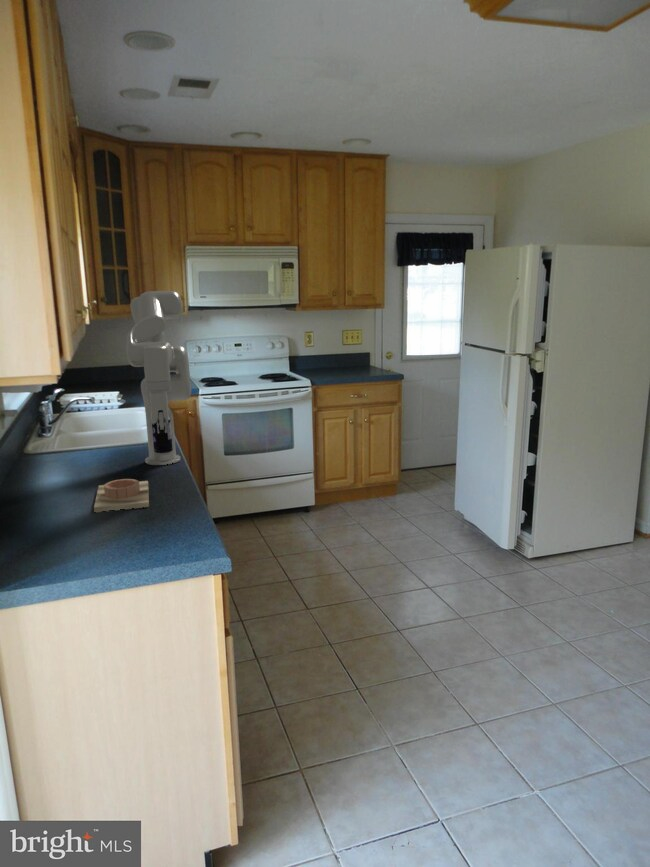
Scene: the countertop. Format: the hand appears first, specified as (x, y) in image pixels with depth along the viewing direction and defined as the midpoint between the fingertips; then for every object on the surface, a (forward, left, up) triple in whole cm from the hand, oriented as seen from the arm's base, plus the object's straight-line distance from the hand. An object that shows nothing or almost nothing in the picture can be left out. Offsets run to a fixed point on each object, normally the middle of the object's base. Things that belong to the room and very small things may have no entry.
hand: (162, 442), depth 198 cm
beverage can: (0, 0, -4) cm, 4 cm away
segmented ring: (+7, -13, -13) cm, 20 cm away
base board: (+7, -13, -15) cm, 21 cm away
